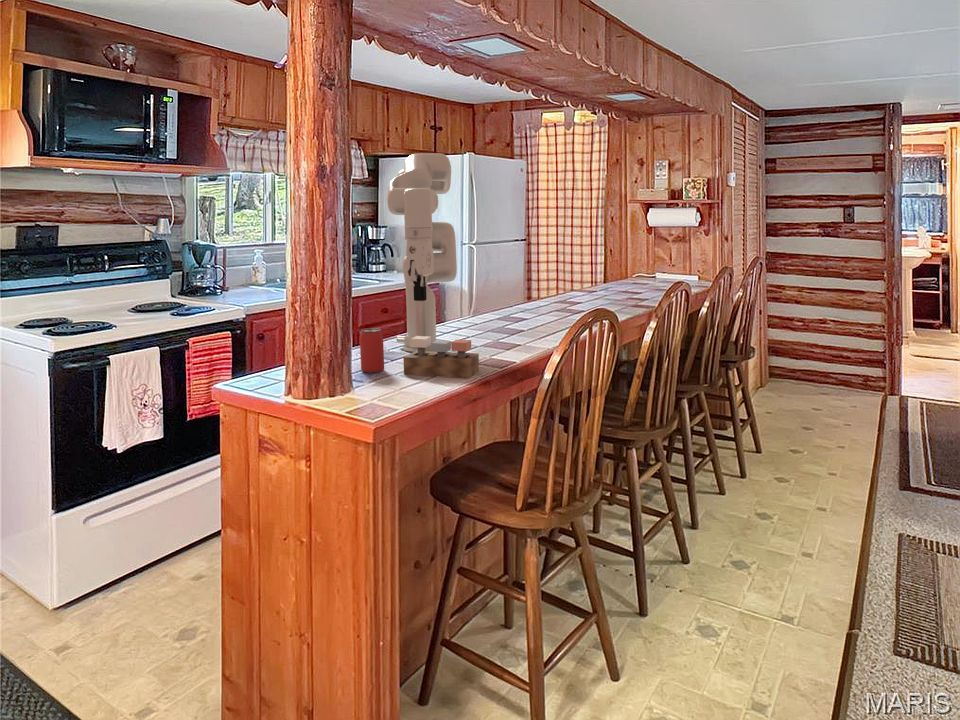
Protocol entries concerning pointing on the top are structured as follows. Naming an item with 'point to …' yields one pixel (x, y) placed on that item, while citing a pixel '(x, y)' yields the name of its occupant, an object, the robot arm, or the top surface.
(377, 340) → the beer can
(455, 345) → the brick-red key
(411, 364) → the walnut console
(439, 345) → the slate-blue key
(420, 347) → the white key
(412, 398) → the top surface
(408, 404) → the top surface
